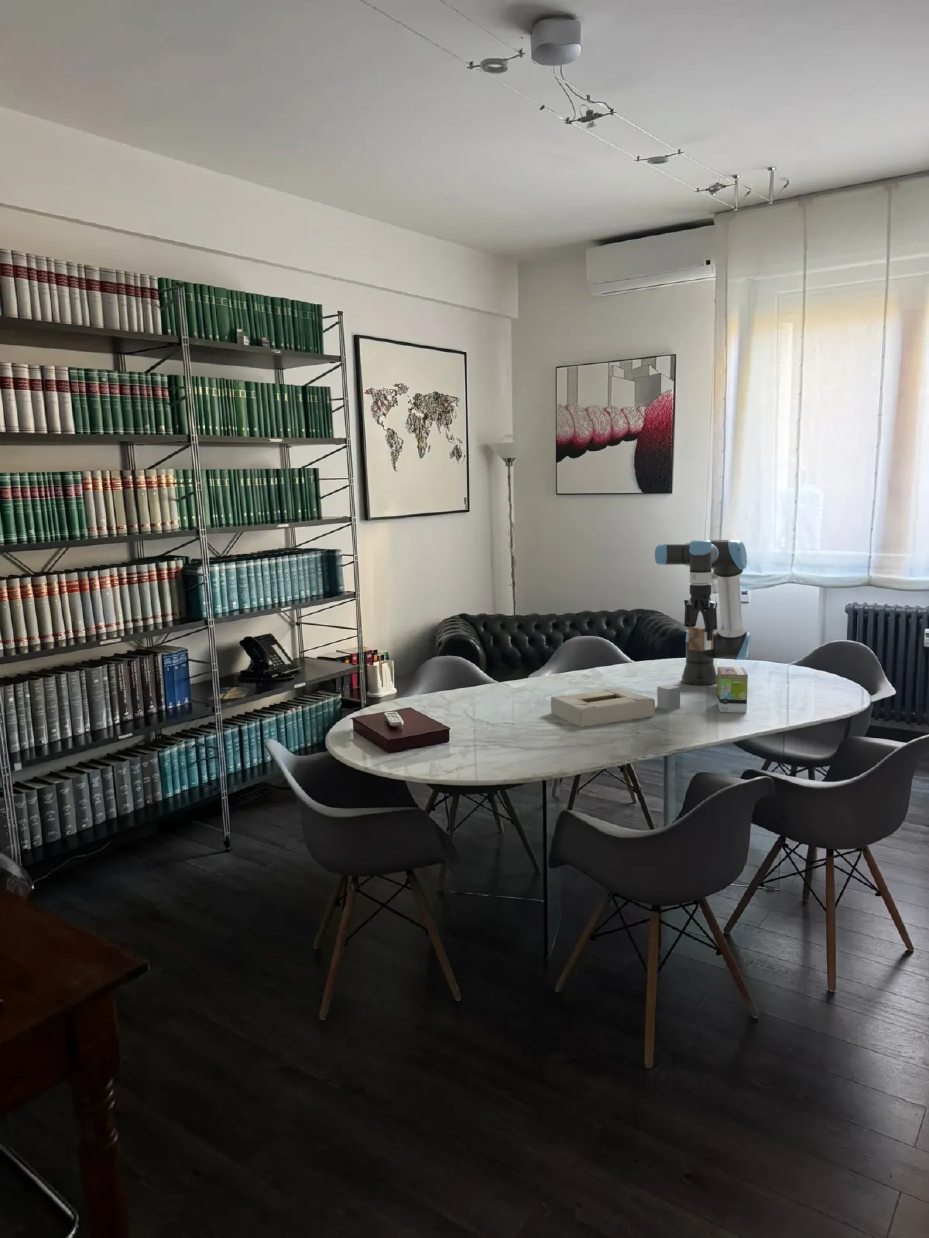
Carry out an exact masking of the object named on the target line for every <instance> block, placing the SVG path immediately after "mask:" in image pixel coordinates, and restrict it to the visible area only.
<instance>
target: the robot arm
mask: <svg viewBox="0 0 929 1238" xmlns="http://www.w3.org/2000/svg"><path fill="white" fill-rule="evenodd" d="M654 561H655V564H657V565H659V566H660V565H663V566H667V565H668V566H670V565H671V566H673V565H674V566H675V565H679V566H680V565H681V566H682V565H683V566H686V567H689V584H690V585H689V595H690V597H689V599H684V601H683V602H684V620H683V621H684V623H683V624H684V628H687V630H688V631H687V632H686V633H685V634H686V636H685V642H684V643H685V665H684V669H683V673H682V675H681V682H682V683H684V684H688V685H692V686H693V685H694V686H695V685H696V686H697V685H698V686H708V685H709V686H710V685H714V684H717V671H716V668H715V667H716V666H715V665H714V663H715V662H714V660H715V659H718V660H733V661H734V660H735V661H738V660H739V661H740V660H741V661H744V660H746V659H747V658H748V655H749V652H750V646H751V638H752V637H751V636H752V635H751V633H750V632H749V631H748V632H747V628H746V627H745V625H743V616H742V603H741V602H742V599H741V597H742V596H741V583H740V581H741V580H740V576H741V575H742V573H743V572H744V570H745V569H746V568H747V565H748V559H747V549H746V546H745V544H744V542H743V541H742V540H738V539H709V540H708V539H696V540H695V539H694V540H691V541H690V542H686V543H684V544H683V543H682V544H679V543H678V544H677V543H676V544H670V543H669V544H668V543H667V544H665V543H664V544H657V545H656V546H655V550H654ZM712 572H713V575H714V576H715V577H717V590H718V601H712V599H711V595H712V591H713V590H712V584H711V583H712V579H713V578H712ZM718 602H719V618H720V626H719V627H718V617H717V608H718ZM699 612H700V613H701V615H702V619H703V623H704V624H703V625H704V626H705V628H706V630H705V632H704V650H706V651H697V650H691V649H689V627H692V626H697V621H698V617H699ZM712 632H713V649H711V640H712ZM709 649H711V650H709Z"/></svg>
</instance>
